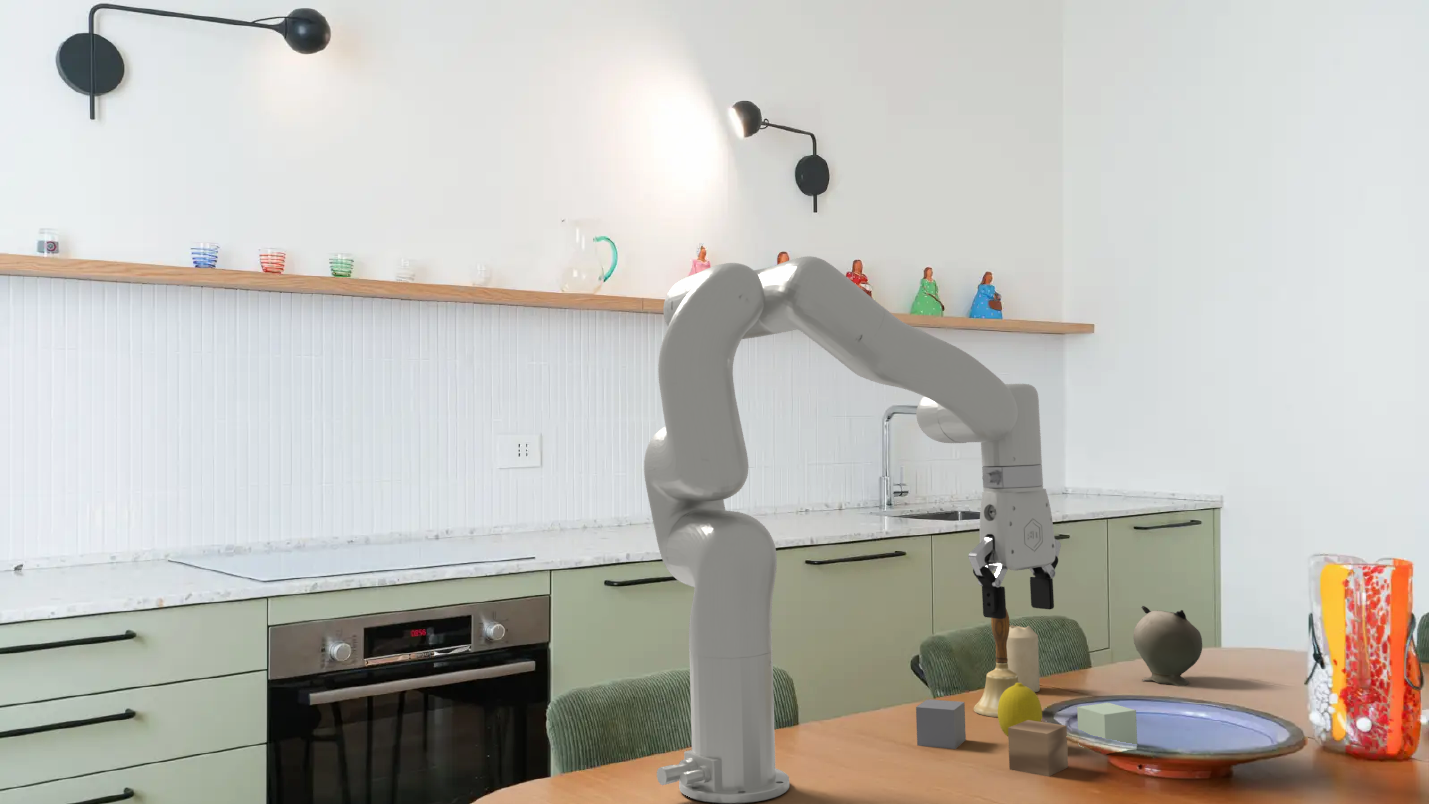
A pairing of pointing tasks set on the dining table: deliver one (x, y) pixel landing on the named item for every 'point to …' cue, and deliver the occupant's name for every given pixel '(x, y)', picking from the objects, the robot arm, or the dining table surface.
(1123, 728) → the sage cube
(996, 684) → the hand bell
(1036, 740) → the walnut cube
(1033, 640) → the candle
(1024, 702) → the lemon
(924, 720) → the charcoal cube
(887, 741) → the dining table surface
